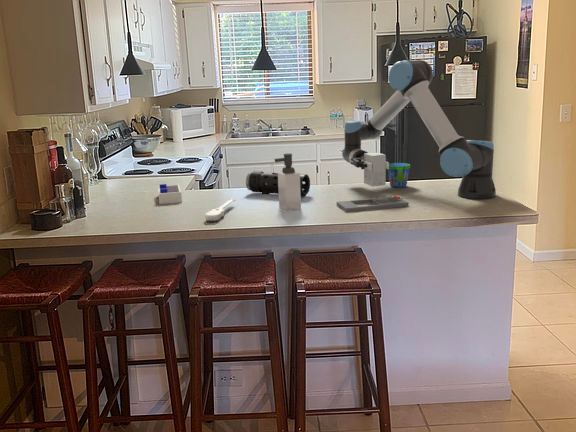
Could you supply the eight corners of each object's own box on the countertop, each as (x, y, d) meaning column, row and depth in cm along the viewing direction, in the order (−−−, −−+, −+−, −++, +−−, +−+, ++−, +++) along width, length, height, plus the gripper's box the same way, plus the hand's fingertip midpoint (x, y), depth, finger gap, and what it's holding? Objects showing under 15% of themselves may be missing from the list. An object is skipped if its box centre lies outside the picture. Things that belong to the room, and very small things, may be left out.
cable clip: (171, 202, 251) (170, 188, 250) (161, 202, 250) (160, 189, 249) (170, 196, 263) (169, 183, 261) (160, 197, 262) (159, 184, 260)
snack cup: (387, 183, 273) (387, 161, 271) (409, 183, 271) (409, 161, 269) (386, 189, 258) (386, 167, 256) (410, 189, 256) (410, 167, 254)
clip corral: (179, 194, 266) (179, 184, 265) (182, 202, 250) (181, 192, 248) (158, 195, 264) (157, 186, 263) (159, 204, 247) (158, 193, 246)
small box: (385, 185, 241) (386, 154, 238) (372, 186, 239) (372, 155, 236) (376, 181, 248) (376, 151, 245) (363, 183, 246) (363, 153, 243)
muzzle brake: (301, 199, 246) (301, 175, 244) (245, 195, 259) (244, 172, 256) (310, 195, 255) (310, 172, 252) (255, 191, 267) (254, 169, 264)
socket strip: (396, 199, 239) (396, 194, 238) (408, 206, 227) (408, 200, 227) (336, 205, 233) (336, 199, 232) (346, 212, 222) (346, 206, 221)
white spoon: (226, 205, 241) (226, 198, 240) (239, 205, 240) (239, 198, 239) (202, 222, 214) (202, 215, 214) (217, 223, 213) (216, 215, 212)
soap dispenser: (274, 208, 231) (271, 154, 226) (293, 205, 235) (291, 152, 230) (281, 212, 226) (279, 156, 220) (300, 208, 230) (299, 154, 224)
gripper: (380, 164, 262) (401, 173, 240) (339, 167, 257) (356, 177, 236) (380, 148, 260) (401, 155, 238) (339, 151, 255) (356, 159, 234)
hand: (379, 166), depth 237 cm, fingers closed on small box, 7 cm apart
